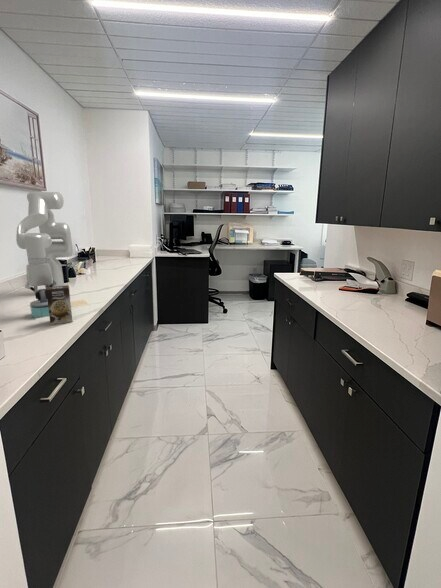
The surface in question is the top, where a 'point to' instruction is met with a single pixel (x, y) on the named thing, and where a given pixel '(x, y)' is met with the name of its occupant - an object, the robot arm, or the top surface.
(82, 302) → the mat
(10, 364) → the top surface
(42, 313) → the bowl
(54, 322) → the coffee box
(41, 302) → the lid
